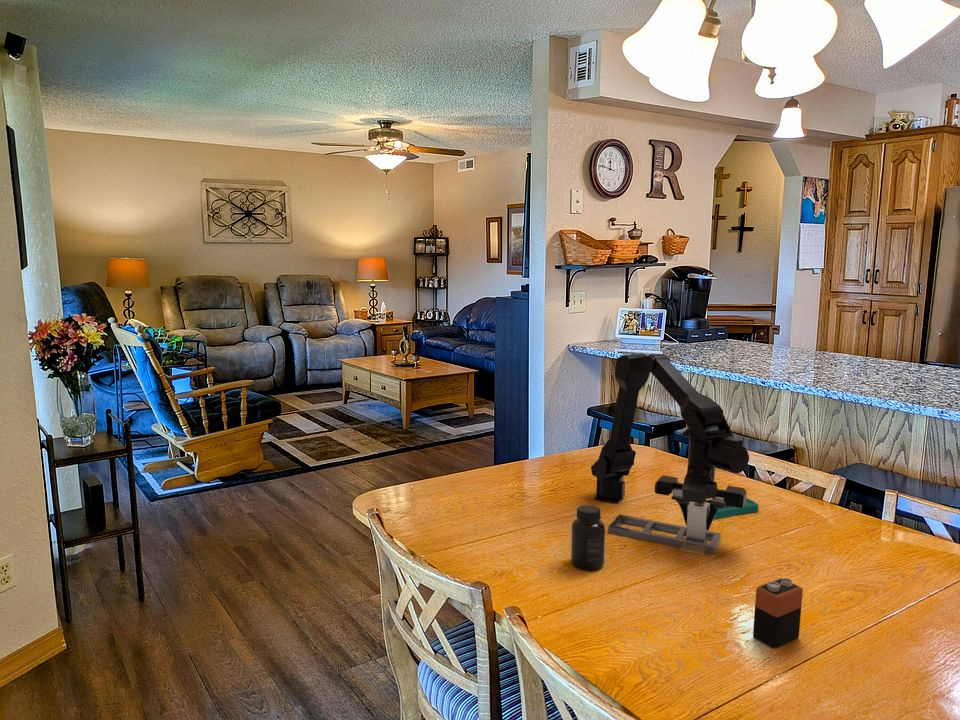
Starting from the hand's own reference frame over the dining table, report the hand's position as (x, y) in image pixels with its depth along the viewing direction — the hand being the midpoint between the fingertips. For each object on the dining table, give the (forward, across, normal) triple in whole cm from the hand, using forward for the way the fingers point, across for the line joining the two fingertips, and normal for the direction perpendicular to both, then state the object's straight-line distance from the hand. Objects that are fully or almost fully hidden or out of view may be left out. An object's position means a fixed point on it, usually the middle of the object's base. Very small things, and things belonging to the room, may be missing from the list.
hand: (697, 527), depth 152 cm
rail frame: (+4, -7, 0) cm, 8 cm away
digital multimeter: (+4, +3, +24) cm, 24 cm away
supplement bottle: (+4, -18, -22) cm, 29 cm away
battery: (+4, +19, -33) cm, 38 cm away
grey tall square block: (+2, 0, 0) cm, 3 cm away
